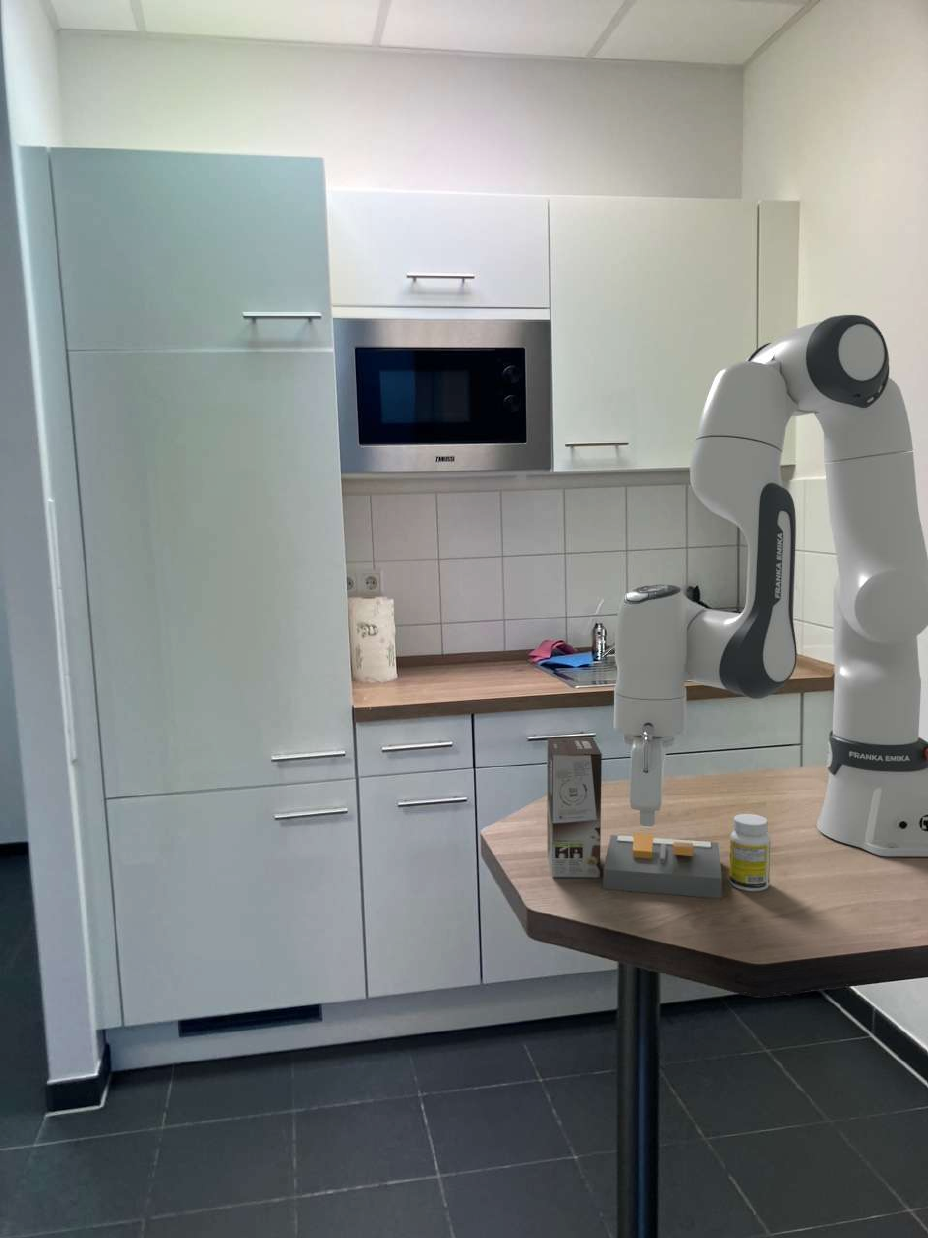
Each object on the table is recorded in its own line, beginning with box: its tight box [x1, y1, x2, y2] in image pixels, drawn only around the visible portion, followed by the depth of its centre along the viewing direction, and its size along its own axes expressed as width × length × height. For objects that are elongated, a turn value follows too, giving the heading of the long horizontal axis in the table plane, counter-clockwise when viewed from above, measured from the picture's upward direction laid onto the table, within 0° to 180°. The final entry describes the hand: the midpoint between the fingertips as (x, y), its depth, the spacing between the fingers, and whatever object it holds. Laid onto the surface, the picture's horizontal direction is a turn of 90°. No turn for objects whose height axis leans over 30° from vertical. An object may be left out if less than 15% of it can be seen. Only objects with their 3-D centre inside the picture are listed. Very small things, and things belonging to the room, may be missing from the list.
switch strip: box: [602, 834, 723, 899], centre depth 118 cm, size 14×12×3 cm
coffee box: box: [546, 736, 603, 879], centre depth 121 cm, size 9×6×16 cm
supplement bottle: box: [729, 813, 771, 892], centre depth 114 cm, size 5×5×8 cm
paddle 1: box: [633, 832, 654, 859], centre depth 118 cm, size 2×4×1 cm, turn 167°
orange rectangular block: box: [673, 842, 693, 856], centre depth 117 cm, size 2×4×1 cm, turn 167°
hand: (647, 822), depth 117 cm, fingers closed
